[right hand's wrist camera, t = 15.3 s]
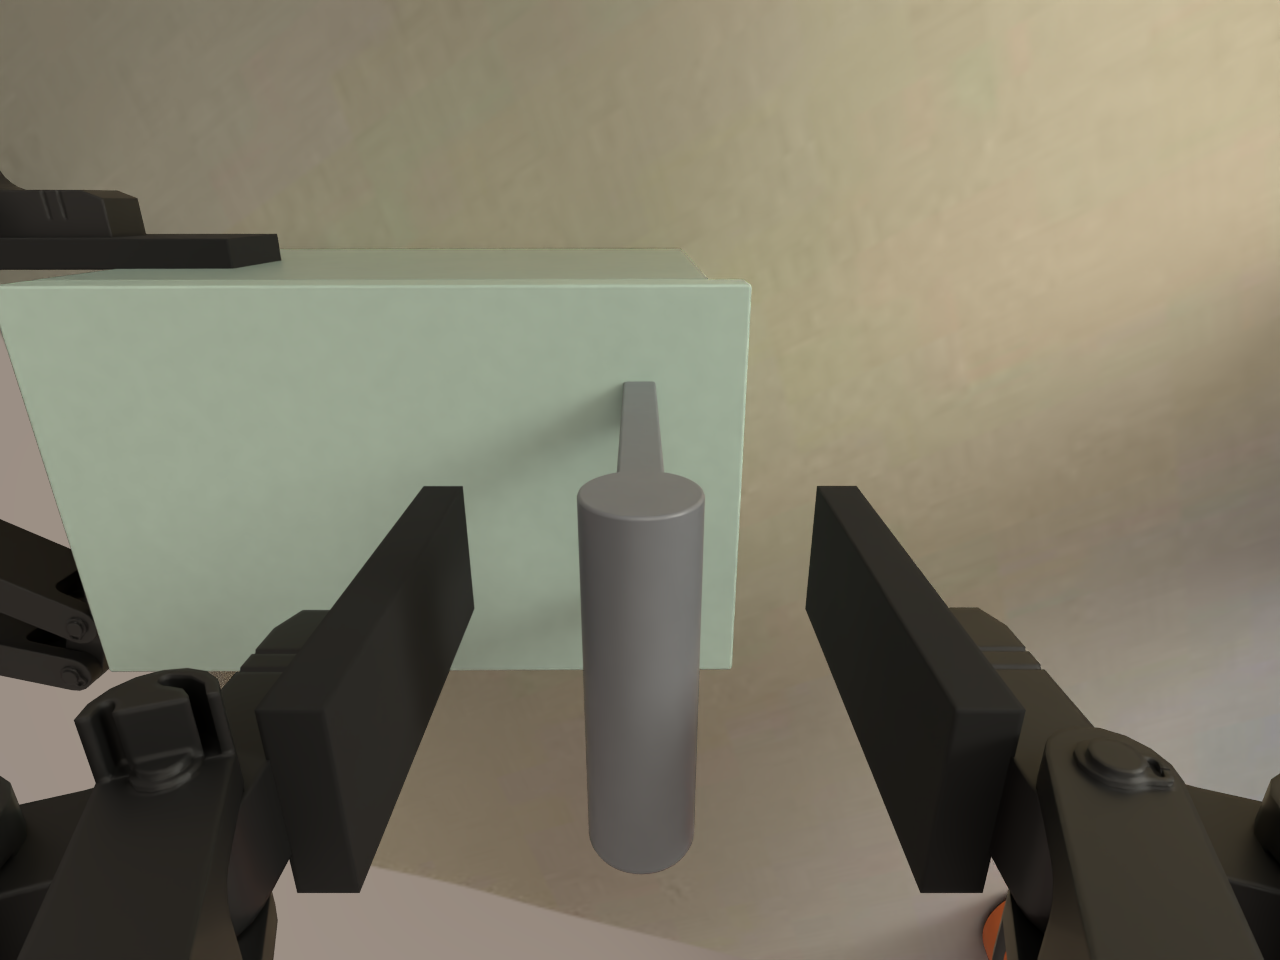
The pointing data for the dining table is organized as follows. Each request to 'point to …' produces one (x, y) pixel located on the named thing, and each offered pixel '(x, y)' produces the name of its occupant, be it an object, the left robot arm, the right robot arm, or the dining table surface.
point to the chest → (435, 266)
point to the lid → (414, 480)
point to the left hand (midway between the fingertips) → (289, 430)
